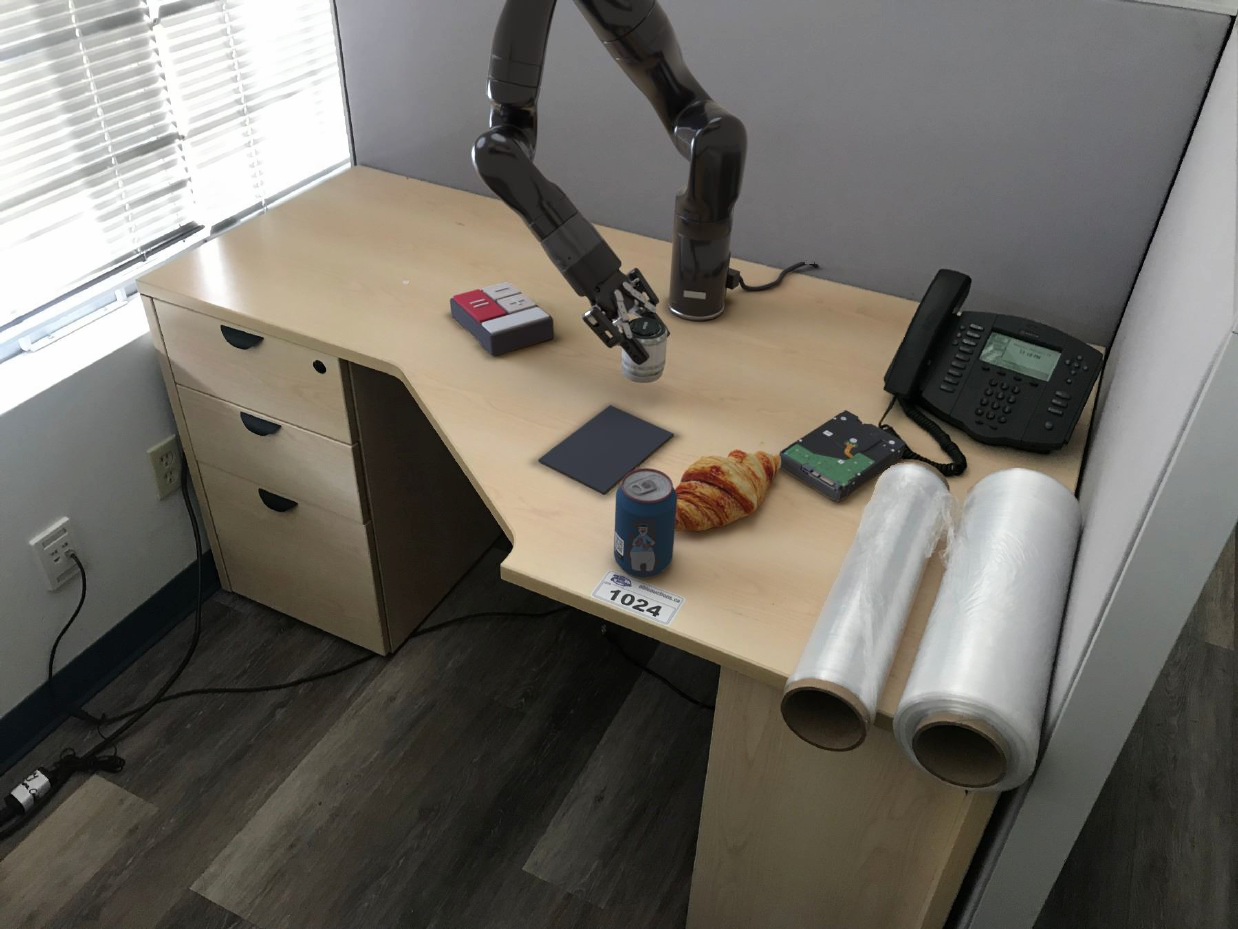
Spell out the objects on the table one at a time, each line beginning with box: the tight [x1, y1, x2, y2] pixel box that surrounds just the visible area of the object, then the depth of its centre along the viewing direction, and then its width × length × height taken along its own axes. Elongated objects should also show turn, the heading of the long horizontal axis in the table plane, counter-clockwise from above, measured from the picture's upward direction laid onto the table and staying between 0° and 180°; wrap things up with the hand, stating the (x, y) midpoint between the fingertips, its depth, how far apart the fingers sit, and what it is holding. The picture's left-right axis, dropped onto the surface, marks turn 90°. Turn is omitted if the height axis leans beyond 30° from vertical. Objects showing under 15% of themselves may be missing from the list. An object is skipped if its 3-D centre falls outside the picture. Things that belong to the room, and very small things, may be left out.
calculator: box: [449, 281, 555, 357], centre depth 157 cm, size 11×4×15 cm
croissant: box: [674, 449, 781, 532], centre depth 124 cm, size 21×10×8 cm, turn 133°
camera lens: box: [620, 317, 668, 384], centre depth 139 cm, size 6×6×8 cm
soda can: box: [613, 467, 677, 579], centre depth 113 cm, size 7×7×12 cm
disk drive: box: [778, 409, 907, 502], centre depth 132 cm, size 10×3×15 cm
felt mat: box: [537, 404, 675, 495], centre depth 134 cm, size 16×11×1 cm
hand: (654, 349), depth 138 cm, fingers closed on camera lens, 6 cm apart
